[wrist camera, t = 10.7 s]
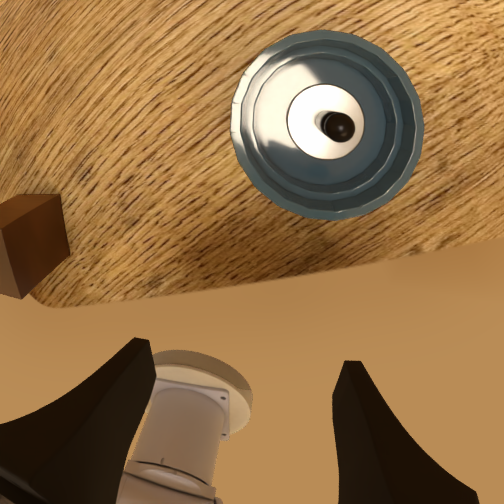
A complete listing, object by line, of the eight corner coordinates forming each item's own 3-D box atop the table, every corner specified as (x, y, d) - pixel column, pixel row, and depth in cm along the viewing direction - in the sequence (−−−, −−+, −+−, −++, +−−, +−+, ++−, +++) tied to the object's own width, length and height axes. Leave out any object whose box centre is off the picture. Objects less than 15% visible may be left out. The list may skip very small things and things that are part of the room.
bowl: (384, 204, 18) (406, 229, 15) (238, 189, 19) (227, 211, 15) (402, 60, 14) (430, 52, 11) (245, 40, 15) (235, 23, 11)
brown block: (70, 254, 22) (21, 299, 16) (29, 249, 22) (-19, 288, 17) (59, 194, 20) (1, 228, 14) (17, 194, 20) (-38, 225, 14)
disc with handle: (354, 159, 17) (386, 187, 11) (283, 151, 17) (283, 175, 12) (361, 90, 15) (398, 86, 10) (288, 81, 15) (291, 69, 10)
